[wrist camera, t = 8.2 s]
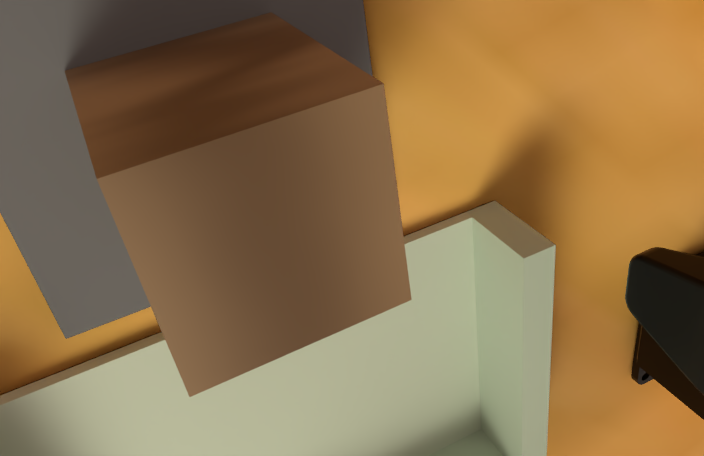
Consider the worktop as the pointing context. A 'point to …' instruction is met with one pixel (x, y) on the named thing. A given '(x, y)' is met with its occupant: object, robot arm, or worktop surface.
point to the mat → (69, 143)
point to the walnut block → (247, 190)
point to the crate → (340, 372)
